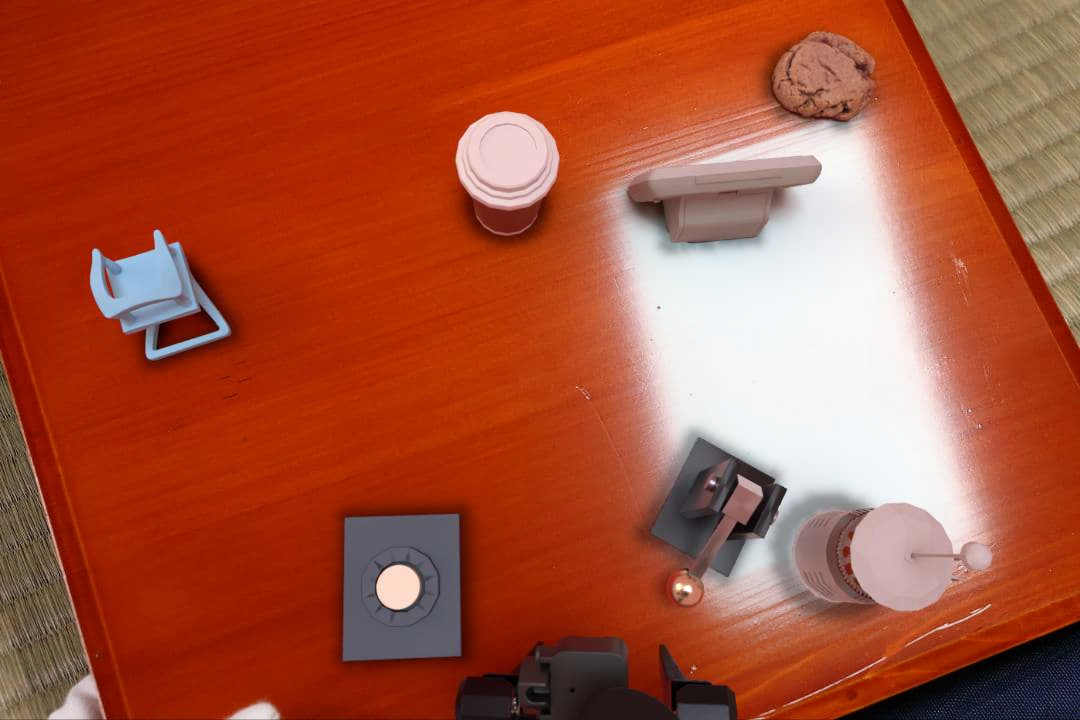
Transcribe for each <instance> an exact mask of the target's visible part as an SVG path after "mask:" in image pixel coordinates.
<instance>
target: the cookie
mask: <svg viewBox="0 0 1080 720" xmlns="http://www.w3.org/2000/svg"><path fill="white" fill-rule="evenodd" d="M875 67H876V60H875V59H874V58H873V56H872V55H871V54H870V53H868V51H866V50H865V49H863V48H862V47H861V46H859V45H857V44H856V42H854V41H852V40H851V39H849V38H847V37H846V36H843V35H841V34H837V33H833V32H827V31H824V30H823V31H819V30H816V31H812V32H811V33H810V34H809V35H808V36H807V37H805V38H804V39H802V40H800V41H799V43H797V44H793V46H791V47H790V49H789V51H787V52H784V53H783V54H782V55H781V57H780V59H779V60H778V62H777V64H776V66H775V68H774V69H773V72H772V75H771V78H770V79H771V80H770V81H771V83H772V92H773V94H774V97H776V99H777V101H778V102H779V103H780V104H781V105H782V107H783V108H784V109H786V110H788V111H790V112H794V113H797V114H798V113H799V114H801V116H802V117H806V118H809V117H811V116H812V117H813V118H816V117H817V118H819V117H823V118H824V117H830V118H832V117H834V118H835V119H837V120H840V121H848V120H851V119H852V118H853V117H854V116H856V115H858V114H859V113H860V112H861V111H862V110H863V109H864V108H865V107H866V106H867V105H868V104H869V102H870V100H871V96H872V94H873V91H874V89H875V87H876V82H875V80H873V79H871V78H870V76H871V75H873V73H874V71H875Z"/></svg>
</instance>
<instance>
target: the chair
mask: <svg viewBox="0 0 1080 720" xmlns="http://www.w3.org/2000/svg"><path fill="white" fill-rule="evenodd" d="M153 239H154V249H152V250H148V251H146V252H142V253H139V254H136V255H132V256H128V257H126V258H122V259H118V260H115V261H113V260H112V259H110V258H108V257H106V256H104V255H103V253H102V252H101V251H100V250H99V249H98V248H94V249H92V252H91V253H92V255H91V257H92V260H91V261H92V263H91V267H90V277H89V284H90V288H91V292H92V295H93V298H94V300H95V302H96V304H97V306H98V308H99V310H100V311H101V313H102V315H103V316H104V317H105V318H107V319H113V320H114V319H115V320H119V321H120V326H121V329H122V333H124V334H125V335H127V336H128V335H132V334H134V333H137V332H138V333H139V332H140V331H143V330H146V333H145V356H146V358H147V359H148V360H150V361H153V362H154V361H158V360H162V359H165V358H168V357H171V356H174V355H177V354H180V353H183V352H185V351H189V350H192V349H194V348H198V347H201V346H204V345H207V344H210V343H213V342H216V341H219V340H222V339H225V338H228V337H230V336H231V335H232V330H231V327H230V325H229V323H228V322H227V320H226V319H225V318H224V316H223V315H222V313H221V312H220V310H218V308H217V306H215V304H214V303H213V301H212V300H211V299H210V298H209V297H208V295H207V294H206V292H205V291H204V290H203V289H202V287H201V286H200V284H199V283H198V282H197V280H196V279H195V277H194V275H193V274H192V271H190V266H189V263H188V260H187V257H186V254H185V252H184V249H183V245H182V243H180V242H179V241H176V242H173V243H170V244H168V241H167V239H166V237H165V236H164V235H163V233H162V232H161V231H160V230H159V229H156V230H154V231H153ZM105 269H106V272H105ZM105 273H107V277H108V280H109V284H110V287H111V290H112V294H113V296H112V294H111V292H110V290H109V288H108V284H107V280H106V275H105ZM201 307H202V308H203V310H205V312H206V313H207V315H209V316H210V318H211V319H212V320H213V321H214V322H215V324H216V325H217V326H218V328H219V329H218V330H217V331H214V332H211V333H207V334H204V335H201V336H197V337H195V338H191V339H188V340H185V341H182V342H178V343H175V344H171V345H169V346H165V347H163V348H159V349H157V347H158V345H157V344H158V337H159V329H160V324H163V323H166V322H170V321H173V320H176V319H180V318H184V317H188V316H190V315H194V314H197V313H200V312H202V310H201Z"/></svg>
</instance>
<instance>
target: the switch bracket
mask: <svg viewBox="0 0 1080 720" xmlns="http://www.w3.org/2000/svg"><path fill="white" fill-rule="evenodd" d="M737 475H740V476H742V477H744V478H746V479H747V480H749V481H751V482H753V483H755V484H756V485H758V486H760V487H761V489H762V493H763V499H762V500H761V502H760V503H759V505H758V506H757V508H756V510H755V511H754V513H753V514H752V516H751V517H750V519H749V521H748V522H747V524H746V525H744V524H742V523H740V522H738V521H737V523H736V524H735V526H734V528H733V529H732V531H731V532H730V534H729V535H728V537H727V539H726V540H725V542H724V543H723V545H722V547H721V548H720V550H719V551H718V553H717V555H716V556H715V558H714V559H713V561H712V563H711V564H710V566H709V567H708V568H710V569H711V570H713V571H715V572H717V573H719V574H721V576H724V577H726V578H729V577H730V575H731V573H732V571H733V568H734V566H735V564H736V562H737V560H738V559H739V556H740V554H741V552H742V550H743V548H744V546H745V544H746V542H747V541H748V540H761V539H762V540H763V539H765V537H766V536H767V533H768V531H769V529H770V527H771V526H772V525H773V524H775V522H776V521H777V518H778V517H779V514H780V510H779V508H780V506H781V504H782V502H783V500H784V498H785V496H786V493H787V492H788V488H786V487H785V486H783V485H781V484H779V483H777V482H776V478H775V477H772V476H770V475H769V474H767V473H766V472H764V471H762V470H760V469H758V468H757V467H755V466H752V464H749V463H747V462H745V461H744V460H742V459H740V458H738V457H736V456H735V455H733V454H731V453H729V452H728V451H725V450H723V449H722V448H720V447H718V446H716V445H714V444H713V443H711V442H709V441H707V440H706V439H704V438H702V437H700V436H698V437H696V440H695V442H694V444H693V446H692V447H691V449H690V451H689V454H688V456H687V457H686V459H685V461H684V462H683V465H682V467H681V468H680V471H679V473H678V475H677V477H676V478H675V481H674V483H673V484H672V486H671V489H670V490H669V492H668V494H667V496H666V498H665V500H664V502H663V504H662V506H661V508H660V510H659V512H658V514H657V516H656V518H655V520H654V522H653V523H652V526H651V528H650V529H649V531H648V534H649V535H651V536H653V537H655V538H656V539H658V540H660V541H662V542H663V543H666V544H667V545H668V546H670V547H672V548H674V549H676V550H678V551H679V552H681V553H682V554H684V555H686V556H689V557H690V558H692V559H694V560H695V558H696V556H697V555H698V553H699V552H700V550H701V548H702V547H703V545H704V543H705V542H706V540H707V539H708V537H709V535H710V534H711V532H712V531H713V529H714V527H715V526H716V524H717V523H718V521H719V519H720V518H721V516H722V515H723V513H722V512H721V507H722V505H723V503H724V501H725V499H726V497H727V495H728V493H729V491H730V489H731V487H732V485H733V483H734V481H735V479H736V477H737ZM775 482H776V483H775Z"/></svg>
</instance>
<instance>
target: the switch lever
mask: <svg viewBox="0 0 1080 720" xmlns="http://www.w3.org/2000/svg"><path fill="white" fill-rule="evenodd" d="M762 499H763V493H762V489H761V487H760V486H758V485H756V484H755V483H753V482H751V481H749V480H747V479H746V478H744V477H742V476H740V475H737V477H736V479H735V481H734V483H733V485H732V487H731V489H730V491H729V493H728V495H727V497H726V499H725V501H724V503H723V505H722V507H721V512H722V513H723V515H722V516H721V518H720V519H719V521H718V523H717V524H716V526H715V527H714V529H713V531H712V532H711V534H710V535H709V537H708V539H707V540H706V542H705V543H704V545H703V547H702V548H701V550H700V552H699V553H698V555H697V556H696V558H695V559H694V560H693V561H692V563H691V565H690V566H689V567H687V568H686V567H685V568H679V569H677V570H675V571H673V572H672V573H671V574H670V575H669V577H668V579H667V581H666V593H667V596H668V599H669V600H670V601H671V602H672V603H673V604H674V605H675V606H677V607H680V608H683V609H691V608H694V607H695V608H696V607H697V606H698V605H699V604H701V602H702V601H703V600H704V599H705V595H706V590H707V589H706V588H707V587H706V583H705V580H704V579H703V577H704V576H705V574H706V572H707V570H709V568H710V567H709V566H710V564H711V563H712V561H713V559H714V558H715V556H716V555H717V553H718V551H719V550H720V548H721V547H722V545H723V543H724V542H725V540H726V539H727V537H728V535H729V534H730V532H731V531H732V529H733V528H734V526H735V524H736V523H737V521H738V522H740V523H742V524H744V525H746V524H747V522H748V521H749V519H750V517H751V516H752V514H753V513H754V511H755V510H756V508H757V506H758V505H759V503H760V502H761V500H762Z"/></svg>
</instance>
